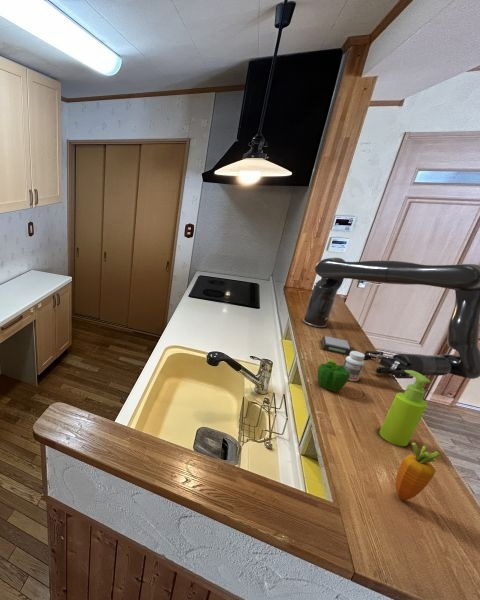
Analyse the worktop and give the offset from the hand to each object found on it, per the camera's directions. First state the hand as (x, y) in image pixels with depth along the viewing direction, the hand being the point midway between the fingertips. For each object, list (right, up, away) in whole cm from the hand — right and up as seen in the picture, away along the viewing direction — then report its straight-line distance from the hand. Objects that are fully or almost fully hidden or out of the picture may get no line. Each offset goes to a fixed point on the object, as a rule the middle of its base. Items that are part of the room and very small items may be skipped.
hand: (367, 363), depth 114 cm
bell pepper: (-17, -8, -3) cm, 19 cm away
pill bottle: (-5, -6, +2) cm, 8 cm away
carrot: (-30, -22, -42) cm, 57 cm away
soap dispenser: (-15, -16, -25) cm, 33 cm away
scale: (+6, +2, +22) cm, 23 cm away
